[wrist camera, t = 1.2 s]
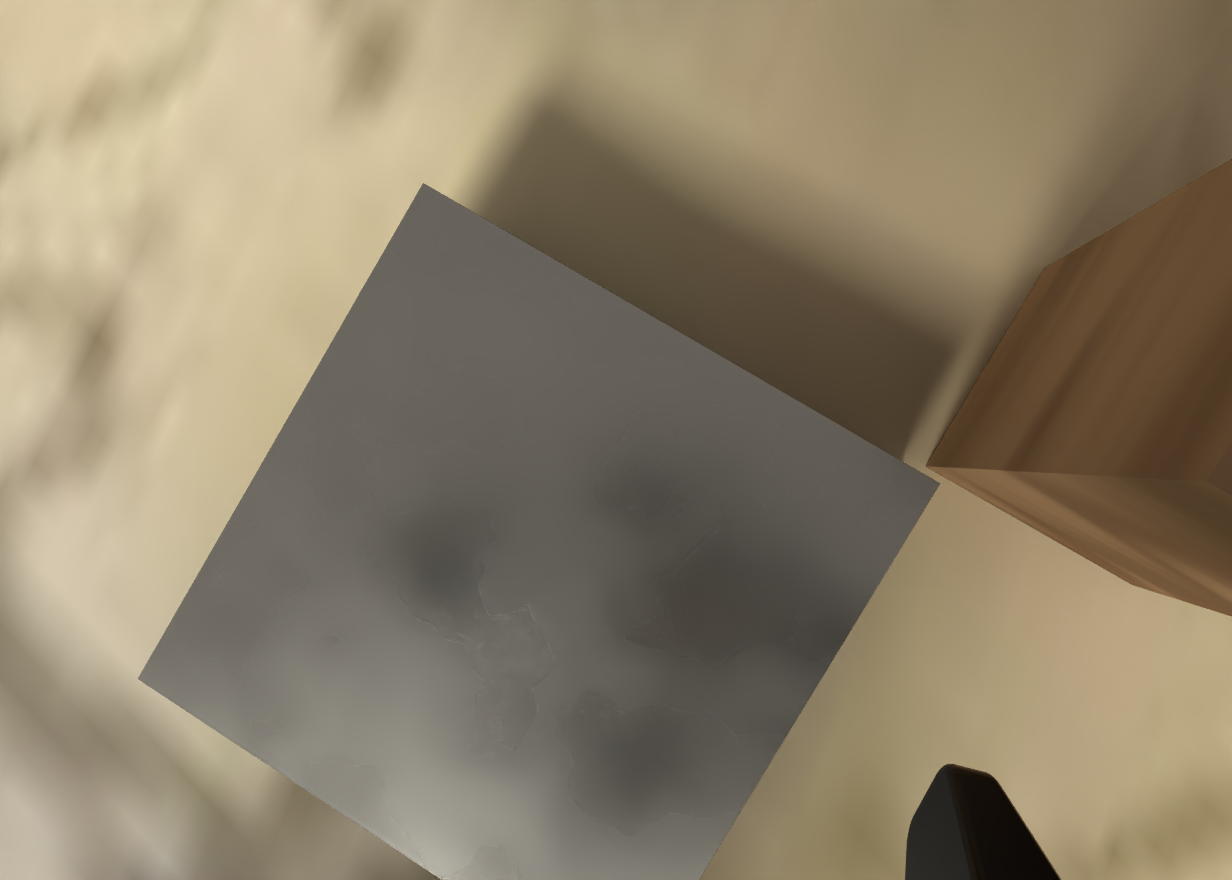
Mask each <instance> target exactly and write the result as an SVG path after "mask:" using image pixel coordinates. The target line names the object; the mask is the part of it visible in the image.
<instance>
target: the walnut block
mask: <svg viewBox="0 0 1232 880" xmlns="http://www.w3.org/2000/svg"><path fill="white" fill-rule="evenodd" d="M926 467H928V468H929V469H931V470H933V471H935V472H936V473H938V474H940V475H942V476H943V477H945V478H947V479H949V480H950V481H952V482H954V483H956V484H957V485H959V486H961V487H963V488H964V489H966V490H968V491H970V492H971V493H973V494H975V495H977V496H978V497H980V498H982V499H983V500H985V501H987V502H989V503H990V504H992V505H994V506H996V507H997V508H999V509H1001V510H1003V511H1004V512H1006V513H1008V514H1010V515H1011V516H1013V517H1015V518H1017V519H1018V520H1020V521H1022V522H1024V523H1025V524H1027V525H1029V526H1031V527H1032V528H1034V529H1036V530H1038V531H1039V532H1041V533H1043V534H1044V535H1046V536H1048V537H1050V538H1051V539H1053V540H1055V541H1057V542H1058V543H1060V544H1062V545H1064V546H1065V547H1067V548H1069V549H1071V550H1072V551H1074V552H1076V553H1078V554H1079V555H1081V556H1083V557H1085V558H1086V559H1088V560H1090V561H1092V562H1093V563H1095V564H1097V565H1099V566H1100V567H1102V568H1104V569H1106V570H1107V571H1109V572H1111V573H1112V574H1114V575H1116V576H1118V577H1119V578H1121V579H1123V580H1125V581H1126V582H1128V583H1130V584H1132V585H1134V586H1137V587H1141V588H1144V589H1147V590H1150V591H1153V592H1156V593H1159V594H1163V595H1166V596H1169V597H1172V598H1175V599H1178V600H1182V601H1185V602H1188V603H1191V604H1194V605H1197V606H1201V607H1204V608H1207V609H1210V610H1213V611H1216V612H1219V613H1223V614H1226V615H1229V616H1232V159H1231V160H1229V161H1228V162H1226V163H1224V164H1223V165H1221V166H1219V167H1217V168H1216V169H1214V170H1212V171H1210V172H1209V173H1207V174H1205V175H1204V176H1202V177H1200V178H1198V179H1197V180H1195V181H1193V182H1192V183H1190V184H1188V185H1186V186H1185V187H1183V188H1181V189H1180V190H1178V191H1176V192H1174V193H1173V194H1171V195H1169V196H1168V197H1166V198H1164V199H1162V200H1161V201H1159V202H1157V203H1156V204H1154V205H1152V206H1150V207H1149V208H1147V209H1145V210H1144V211H1142V212H1140V213H1138V214H1137V215H1135V216H1133V217H1132V218H1130V219H1128V220H1126V221H1125V222H1123V223H1121V224H1119V225H1118V226H1116V227H1114V228H1113V229H1111V230H1109V231H1107V232H1106V233H1104V234H1102V235H1101V236H1099V237H1097V238H1095V239H1094V240H1092V241H1090V242H1089V243H1087V244H1085V245H1083V246H1082V247H1080V248H1078V249H1077V250H1075V251H1073V252H1071V253H1070V254H1068V255H1066V256H1065V257H1063V258H1061V259H1059V260H1058V261H1056V262H1054V263H1053V264H1051V265H1049V266H1047V267H1046V268H1044V270H1043V272H1042V273H1041V275H1040V277H1039V278H1038V280H1037V282H1036V283H1035V285H1034V287H1033V288H1032V290H1031V292H1030V293H1029V295H1028V297H1027V298H1026V300H1025V302H1024V303H1023V305H1022V307H1021V308H1020V310H1019V312H1018V313H1017V315H1016V317H1015V318H1014V320H1013V322H1012V323H1011V325H1010V327H1009V328H1008V330H1007V332H1006V333H1005V335H1004V337H1003V338H1002V340H1001V342H1000V343H999V345H998V347H997V348H996V350H995V352H994V353H993V355H992V357H991V358H990V360H989V362H988V363H987V365H986V367H985V368H984V370H983V372H982V373H981V375H980V377H979V378H978V380H977V382H976V383H975V385H974V387H973V388H972V390H971V392H970V393H969V395H968V397H967V398H966V400H965V402H964V403H963V405H962V407H961V408H960V410H959V412H958V413H957V415H956V417H955V418H954V420H953V422H952V423H951V425H950V427H949V428H948V430H947V432H946V433H945V435H944V437H943V438H942V440H941V442H940V443H939V445H938V447H937V448H936V450H935V452H934V453H933V455H932V457H931V458H930V460H929V461H928V463H927V465H926Z"/></svg>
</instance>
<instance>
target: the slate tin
mask: <svg viewBox="0 0 1232 880" xmlns="http://www.w3.org/2000/svg"><path fill="white" fill-rule="evenodd" d="M939 485H940V483H938V482H937V481H935V480H933V479H932V478H930V477H928V476H926V475H925V474H923V473H921V472H919V471H918V470H916V469H914V468H913V467H911V466H909V465H907V464H906V463H904V462H902V461H901V460H899V459H897V458H895V457H894V456H892V455H890V454H889V453H887V452H885V451H883V450H882V449H880V448H878V447H876V446H875V445H873V444H871V443H870V442H868V441H866V440H864V439H863V438H861V437H859V436H858V435H856V434H854V433H852V432H851V431H849V430H847V429H846V428H844V427H842V426H840V425H839V424H837V423H835V422H833V421H832V420H830V419H828V418H827V417H825V416H823V415H821V414H820V413H818V412H816V411H815V410H813V409H811V408H809V407H808V406H806V405H804V404H803V403H801V402H799V401H797V400H796V399H794V398H792V397H790V396H789V395H787V394H785V393H784V392H782V391H780V390H778V389H777V388H775V387H773V386H772V385H770V384H768V383H766V382H765V381H763V380H761V379H760V378H758V377H756V376H754V375H753V374H751V373H749V372H747V371H746V370H744V369H742V368H741V367H739V366H737V365H735V364H734V363H732V362H730V361H729V360H727V359H725V358H723V357H722V356H720V355H718V354H716V353H715V352H713V351H711V350H710V349H708V348H706V347H704V346H703V345H701V344H699V343H698V342H696V341H694V340H692V339H691V338H689V337H687V336H686V335H684V334H682V333H680V332H679V331H677V330H675V329H673V328H672V327H670V326H668V325H667V324H665V323H663V322H661V321H660V320H658V319H656V318H655V317H653V316H651V315H649V314H648V313H646V312H644V311H643V310H641V309H639V308H637V307H636V306H634V305H632V304H630V303H629V302H627V301H625V300H624V299H622V298H620V297H618V296H617V295H615V294H613V293H612V292H610V291H608V290H606V289H605V288H603V287H601V286H600V285H598V284H596V283H594V282H593V281H591V280H589V279H587V278H586V277H584V276H582V275H581V274H579V273H577V272H575V271H574V270H572V269H570V268H569V267H567V266H565V265H563V264H562V263H560V262H558V261H557V260H555V259H553V258H551V257H550V256H548V255H546V254H544V253H543V252H541V251H539V250H538V249H536V248H534V247H532V246H531V245H529V244H527V243H526V242H524V241H522V240H520V239H519V238H517V237H515V236H513V235H512V234H510V233H508V232H507V231H505V230H503V229H501V228H500V227H498V226H496V225H495V224H493V223H491V222H489V221H488V220H486V219H484V218H483V217H481V216H479V215H477V214H476V213H474V212H472V211H470V210H469V209H467V208H465V207H464V206H462V205H460V204H458V203H457V202H455V201H453V200H452V199H450V198H448V197H446V196H445V195H443V194H441V193H440V192H438V191H436V190H434V189H433V188H431V187H429V186H427V185H426V184H424V183H423V184H422V186H421V188H420V190H419V191H418V193H417V195H416V197H415V198H414V200H413V202H412V204H411V205H410V207H409V209H408V210H407V212H406V214H405V216H404V217H403V219H402V221H401V223H400V224H399V226H398V228H397V230H396V231H395V233H394V235H393V237H392V238H391V240H390V242H389V243H388V245H387V247H386V249H385V250H384V252H383V254H382V256H381V257H380V259H379V261H378V263H377V264H376V266H375V268H374V270H373V271H372V273H371V275H370V276H369V278H368V280H367V282H366V283H365V285H364V287H363V289H362V290H361V292H360V294H359V296H358V297H357V299H356V301H355V303H354V304H353V306H352V308H351V309H350V311H349V313H348V315H347V316H346V318H345V320H344V322H343V323H342V325H341V327H340V329H339V330H338V332H337V334H336V336H335V337H334V339H333V341H332V342H331V344H330V346H329V348H328V349H327V351H326V353H325V355H324V356H323V358H322V360H321V362H320V363H319V365H318V367H317V369H316V370H315V372H314V374H313V375H312V377H311V379H310V381H309V382H308V384H307V386H306V388H305V389H304V391H303V393H302V395H301V396H300V398H299V400H298V402H297V403H296V405H295V407H294V408H293V410H292V412H291V414H290V415H289V417H288V419H287V421H286V422H285V424H284V426H283V428H282V429H281V431H280V433H279V435H278V436H277V438H276V440H275V441H274V443H273V445H272V447H271V448H270V450H269V452H268V454H267V455H266V457H265V459H264V461H263V462H262V464H261V466H260V468H259V469H258V471H257V473H256V474H255V476H254V478H253V480H252V481H251V483H250V485H249V487H248V488H247V490H246V492H245V494H244V495H243V497H242V499H241V501H240V502H239V504H238V506H237V507H236V509H235V511H234V513H233V514H232V516H231V518H230V520H229V521H228V523H227V525H226V527H225V528H224V530H223V532H222V534H221V535H220V537H219V539H218V540H217V542H216V544H215V546H214V547H213V549H212V551H211V553H210V554H209V556H208V558H207V560H206V561H205V563H204V565H203V567H202V568H201V570H200V572H199V573H198V575H197V577H196V579H195V580H194V582H193V584H192V586H191V587H190V589H189V591H188V593H187V594H186V596H185V598H184V600H183V601H182V603H181V605H180V606H179V608H178V610H177V612H176V613H175V615H174V617H173V619H172V620H171V622H170V624H169V626H168V627H167V629H166V631H165V633H164V634H163V636H162V638H161V639H160V641H159V643H158V645H157V646H156V648H155V650H154V652H153V653H152V655H151V657H150V659H149V660H148V662H147V664H146V666H145V667H144V669H143V671H142V672H141V674H140V676H139V678H138V679H139V680H140V681H142V682H143V683H145V684H146V685H148V686H149V687H151V688H152V689H154V690H155V691H157V692H158V693H160V694H161V695H163V696H164V697H166V698H167V699H169V700H170V701H172V702H174V703H175V704H177V705H178V706H180V707H181V708H183V709H184V710H186V711H187V712H189V713H190V714H192V715H193V716H195V717H196V718H198V719H199V720H201V721H202V722H204V723H205V724H207V725H208V726H210V727H211V728H213V729H214V730H216V731H217V732H219V733H220V734H222V735H223V736H225V737H226V738H228V739H229V740H231V741H232V742H234V743H235V744H237V745H238V746H240V747H242V748H243V749H245V750H246V751H248V752H249V753H251V754H252V755H254V756H255V757H257V758H258V759H260V760H261V761H263V762H264V763H266V764H267V765H269V766H270V767H272V768H273V769H275V770H276V771H278V772H279V773H281V774H282V775H284V776H285V777H287V778H288V779H290V780H291V781H293V782H294V783H296V784H297V785H299V786H300V787H302V788H303V789H305V790H307V791H308V792H310V793H311V794H313V795H314V796H316V797H317V798H319V799H320V800H322V801H323V802H325V803H326V804H328V805H329V806H331V807H332V808H334V809H335V810H337V811H338V812H340V813H341V814H343V815H344V816H346V817H347V818H349V819H350V820H352V821H353V822H355V823H356V824H358V825H359V826H361V827H362V828H364V829H365V830H367V831H368V832H370V833H371V834H373V835H375V836H376V837H378V838H379V839H381V840H382V841H384V842H385V843H387V844H388V845H390V846H391V847H393V848H394V849H396V850H397V851H399V852H400V853H402V854H403V855H405V856H406V857H408V858H409V859H411V860H412V861H414V862H415V863H417V864H418V865H420V866H421V867H423V868H424V869H426V870H427V871H429V872H430V873H432V874H433V875H435V876H436V877H438V878H440V879H441V880H699V879H700V877H701V875H702V874H703V872H704V870H705V869H706V867H707V865H708V864H709V862H710V861H711V859H712V857H713V856H714V854H715V852H716V851H717V849H718V847H719V846H720V844H721V842H722V841H723V839H724V838H725V836H726V834H727V833H728V831H729V829H730V828H731V826H732V824H733V823H734V821H735V819H736V818H737V816H738V815H739V813H740V811H741V810H742V808H743V806H744V805H745V803H746V801H747V800H748V798H749V796H750V795H751V793H752V792H753V790H754V788H755V787H756V785H757V783H758V782H759V780H760V778H761V777H762V775H763V774H764V772H765V770H766V769H767V767H768V765H769V764H770V762H771V760H772V759H773V757H774V755H775V754H776V752H777V751H778V749H779V747H780V746H781V744H782V742H783V741H784V739H785V737H786V736H787V734H788V732H789V731H790V729H791V728H792V726H793V724H794V723H795V721H796V719H797V718H798V716H799V714H800V713H801V711H802V709H803V708H804V706H805V705H806V703H807V701H808V700H809V698H810V696H811V695H812V693H813V691H814V690H815V688H816V686H817V685H818V683H819V682H820V680H821V678H822V677H823V675H824V673H825V672H826V670H827V668H828V667H829V665H830V664H831V662H832V660H833V659H834V657H835V655H836V654H837V652H838V650H839V649H840V647H841V645H842V644H843V642H844V641H845V639H846V637H847V636H848V634H849V632H850V631H851V629H852V627H853V626H854V624H855V622H856V621H857V619H858V618H859V616H860V614H861V613H862V611H863V609H864V608H865V606H866V604H867V603H868V601H869V599H870V598H871V596H872V595H873V593H874V591H875V590H876V588H877V586H878V585H879V583H880V581H881V580H882V578H883V577H884V575H885V573H886V572H887V570H888V568H889V567H890V565H891V563H892V562H893V560H894V558H895V557H896V555H897V554H898V552H899V550H900V549H901V547H902V545H903V544H904V542H905V540H906V539H907V537H908V535H909V534H910V532H911V531H912V529H913V527H914V526H915V524H916V522H917V521H918V519H919V517H920V516H921V514H922V512H923V511H924V509H925V508H926V506H927V504H928V503H929V501H930V499H931V498H932V496H933V494H934V493H935V491H936V490H937V488H938V486H939Z"/></svg>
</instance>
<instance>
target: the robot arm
mask: <svg viewBox="0 0 1232 880" xmlns="http://www.w3.org/2000/svg"><path fill="white" fill-rule="evenodd" d="M905 880H1061V878H1060V877H1059V875H1058V874H1057V872H1056V871H1055V869H1054V868H1053V866H1052V864H1051V863H1050V861H1049V860H1048V858H1047V857H1046V855H1045V854H1044V852H1043V851H1042V849H1041V847H1040V846H1039V844H1038V843H1037V841H1036V840H1035V838H1034V837H1033V835H1032V834H1031V832H1030V830H1029V829H1028V827H1027V826H1026V824H1025V823H1024V821H1023V820H1022V818H1021V816H1020V815H1019V813H1018V812H1017V810H1016V809H1015V807H1014V806H1013V804H1012V803H1011V801H1010V799H1009V798H1008V796H1007V795H1006V793H1005V792H1004V790H1003V789H1002V787H1001V786H1000V784H999V783H998V781H997V780H996V779H995V778H994V777H993V776H992V775H990V774H988V773H986V772H983V771H979V770H975V769H971V768H967V767H963V766H959V765H955V764H947V765H944V766H943V767H942V768H941V769H940V770H939V771H938V773H937V774H936V776H935V778H934V780H933V782H932V783H931V785H930V787H929V789H928V791H927V793H926V794H925V796H924V798H923V800H922V802H921V803H920V805H919V807H918V809H917V811H916V812H915V814H914V816H913V818H912V821H911V824H910V828H909V832H908V838H907V849H906V869H905Z"/></svg>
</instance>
